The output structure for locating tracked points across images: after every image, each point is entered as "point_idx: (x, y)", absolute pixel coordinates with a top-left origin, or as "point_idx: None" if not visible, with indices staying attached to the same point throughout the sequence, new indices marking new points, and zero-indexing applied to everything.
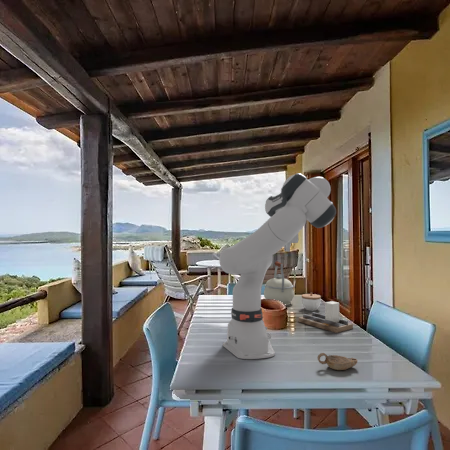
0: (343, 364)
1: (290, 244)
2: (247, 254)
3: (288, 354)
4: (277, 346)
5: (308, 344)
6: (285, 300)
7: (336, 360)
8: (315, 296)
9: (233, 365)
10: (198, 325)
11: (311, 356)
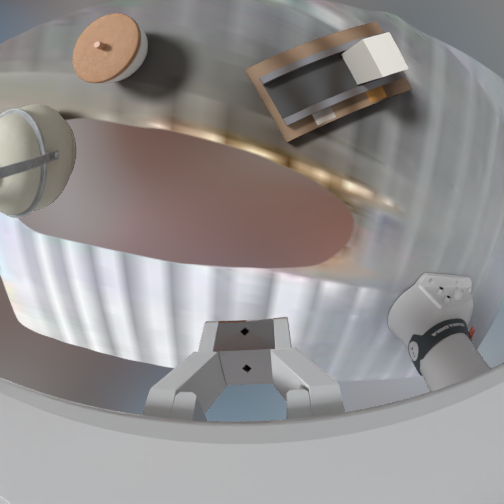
0: None
1: (337, 393)
2: None
3: (472, 254)
4: (443, 262)
5: (454, 200)
6: (71, 137)
7: None
8: (124, 32)
9: None
10: None
11: (489, 222)
